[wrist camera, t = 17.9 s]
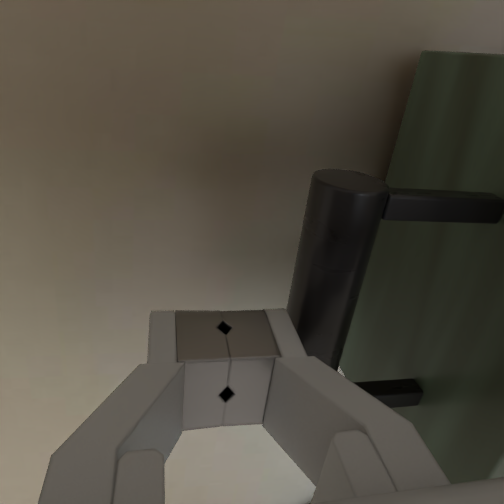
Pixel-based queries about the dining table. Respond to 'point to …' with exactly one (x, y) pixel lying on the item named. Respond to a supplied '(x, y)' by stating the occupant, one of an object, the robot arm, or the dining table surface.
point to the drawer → (419, 267)
